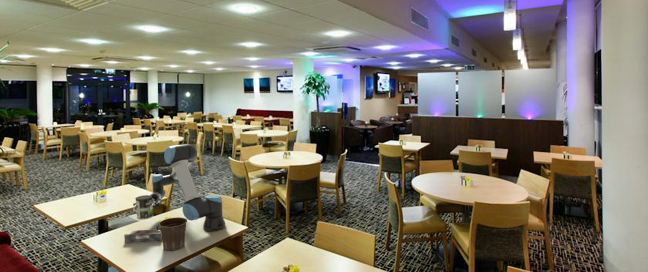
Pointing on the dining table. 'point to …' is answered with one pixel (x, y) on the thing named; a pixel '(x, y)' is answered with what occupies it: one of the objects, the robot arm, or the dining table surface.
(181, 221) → the plant pot
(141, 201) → the coffee can
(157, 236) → the display shelf
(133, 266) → the dining table surface
